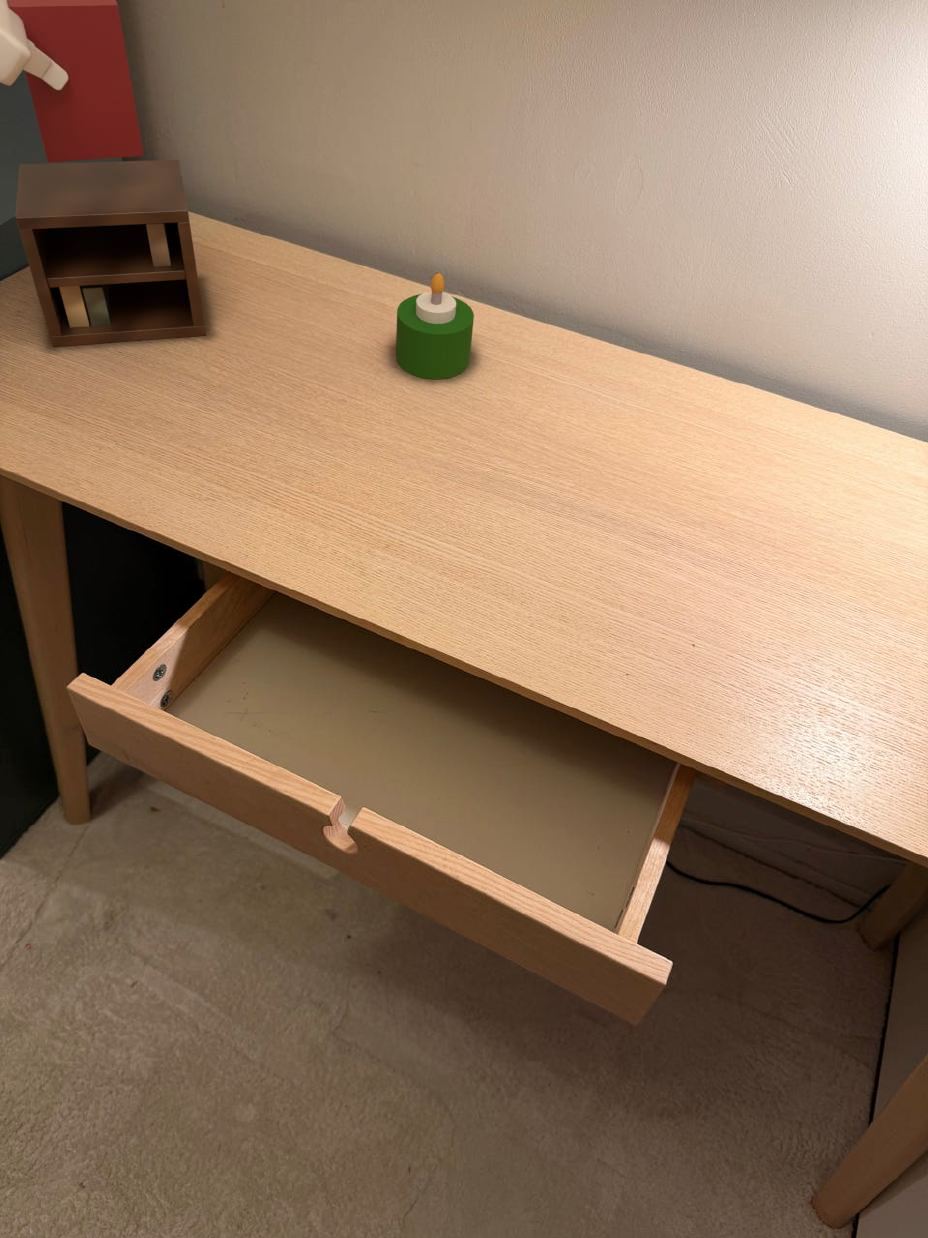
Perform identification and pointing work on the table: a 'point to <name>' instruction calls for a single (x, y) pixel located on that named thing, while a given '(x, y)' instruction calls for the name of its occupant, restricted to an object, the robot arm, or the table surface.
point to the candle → (434, 333)
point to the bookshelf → (110, 250)
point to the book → (82, 80)
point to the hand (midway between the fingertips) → (61, 72)
